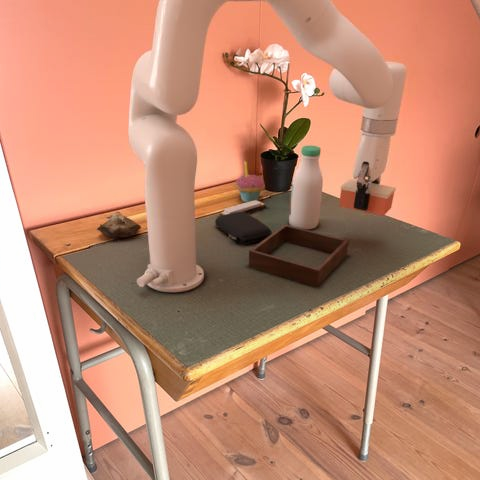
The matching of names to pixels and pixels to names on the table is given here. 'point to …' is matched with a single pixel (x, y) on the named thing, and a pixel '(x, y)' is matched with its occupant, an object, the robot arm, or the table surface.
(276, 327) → the table surface
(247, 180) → the cupcake
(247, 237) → the carrying case
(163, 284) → the robot arm
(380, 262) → the table surface
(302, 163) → the milk bottle
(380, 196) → the lunchbox
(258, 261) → the wooden box
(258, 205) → the harmonica
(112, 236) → the fossilized seashell
